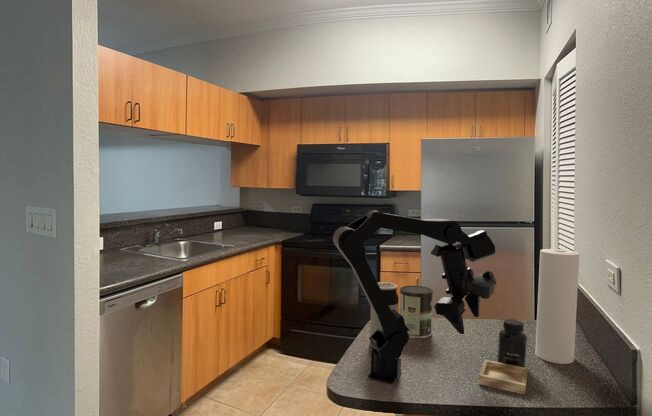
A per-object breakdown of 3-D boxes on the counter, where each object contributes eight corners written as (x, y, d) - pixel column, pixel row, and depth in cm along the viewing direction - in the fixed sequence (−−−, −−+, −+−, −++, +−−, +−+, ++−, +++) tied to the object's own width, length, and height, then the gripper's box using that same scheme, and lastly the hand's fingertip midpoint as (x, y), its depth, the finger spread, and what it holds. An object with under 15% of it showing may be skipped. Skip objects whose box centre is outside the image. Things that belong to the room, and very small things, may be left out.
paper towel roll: (579, 365, 110) (585, 253, 108) (541, 361, 111) (546, 251, 110) (566, 351, 119) (571, 248, 117) (531, 348, 121) (535, 246, 119)
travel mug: (402, 346, 121) (404, 285, 120) (385, 353, 115) (386, 290, 114) (382, 338, 127) (383, 280, 126) (364, 344, 121) (365, 284, 120)
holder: (478, 384, 99) (479, 375, 98) (484, 367, 107) (484, 359, 107) (525, 394, 94) (525, 385, 94) (527, 376, 103) (527, 368, 102)
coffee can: (427, 327, 137) (428, 285, 136) (435, 339, 127) (436, 293, 126) (396, 326, 137) (397, 284, 136) (401, 338, 127) (402, 293, 126)
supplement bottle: (509, 373, 104) (511, 327, 103) (491, 362, 111) (493, 318, 110) (531, 370, 106) (533, 325, 105) (513, 359, 113) (514, 316, 112)
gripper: (470, 282, 91) (486, 347, 93) (500, 253, 105) (514, 310, 106) (426, 282, 99) (442, 342, 101) (459, 255, 112) (472, 308, 114)
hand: (469, 325), depth 105 cm, fingers open, 9 cm apart
